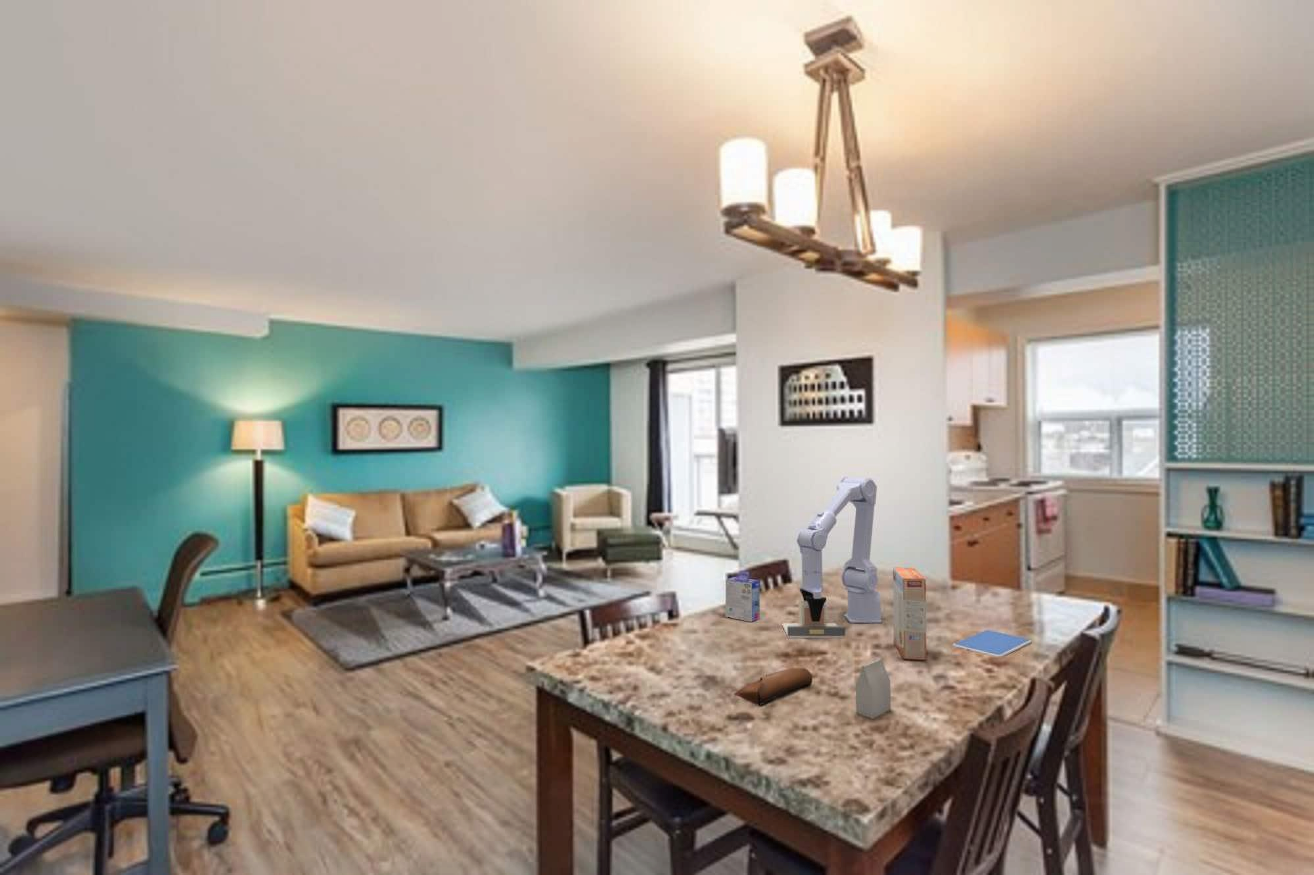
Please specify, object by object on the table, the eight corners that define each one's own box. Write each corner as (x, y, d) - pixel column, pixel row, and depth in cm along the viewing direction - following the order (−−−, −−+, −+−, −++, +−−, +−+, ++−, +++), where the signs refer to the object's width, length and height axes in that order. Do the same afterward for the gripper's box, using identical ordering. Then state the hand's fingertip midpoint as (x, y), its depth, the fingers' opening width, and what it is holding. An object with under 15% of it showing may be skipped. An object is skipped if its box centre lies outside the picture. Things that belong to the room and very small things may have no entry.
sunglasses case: (783, 673, 149) (794, 653, 146) (804, 696, 144) (816, 675, 141) (731, 694, 137) (742, 672, 134) (752, 719, 132) (764, 697, 130)
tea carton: (799, 628, 182) (798, 600, 182) (823, 627, 182) (822, 600, 182) (802, 632, 178) (801, 604, 178) (826, 632, 178) (826, 604, 178)
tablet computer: (1000, 660, 157) (999, 655, 157) (951, 647, 167) (951, 643, 167) (1033, 644, 168) (1033, 639, 168) (985, 633, 178) (985, 628, 178)
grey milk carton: (890, 709, 128) (889, 661, 128) (872, 718, 124) (871, 669, 124) (874, 703, 131) (874, 656, 131) (856, 712, 127) (855, 664, 127)
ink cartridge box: (761, 618, 195) (760, 572, 195) (752, 622, 191) (751, 575, 191) (733, 613, 201) (733, 568, 201) (725, 617, 196) (724, 572, 197)
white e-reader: (835, 625, 186) (835, 615, 186) (845, 638, 174) (845, 627, 174) (781, 625, 187) (781, 615, 187) (788, 638, 175) (788, 627, 175)
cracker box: (928, 661, 155) (926, 578, 155) (902, 660, 156) (901, 577, 156) (916, 643, 169) (915, 566, 169) (893, 642, 170) (891, 566, 170)
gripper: (794, 565, 187) (794, 610, 187) (802, 576, 173) (803, 624, 173) (817, 565, 187) (818, 610, 187) (828, 576, 172) (829, 624, 172)
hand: (812, 617), depth 180 cm, fingers open, 7 cm apart
